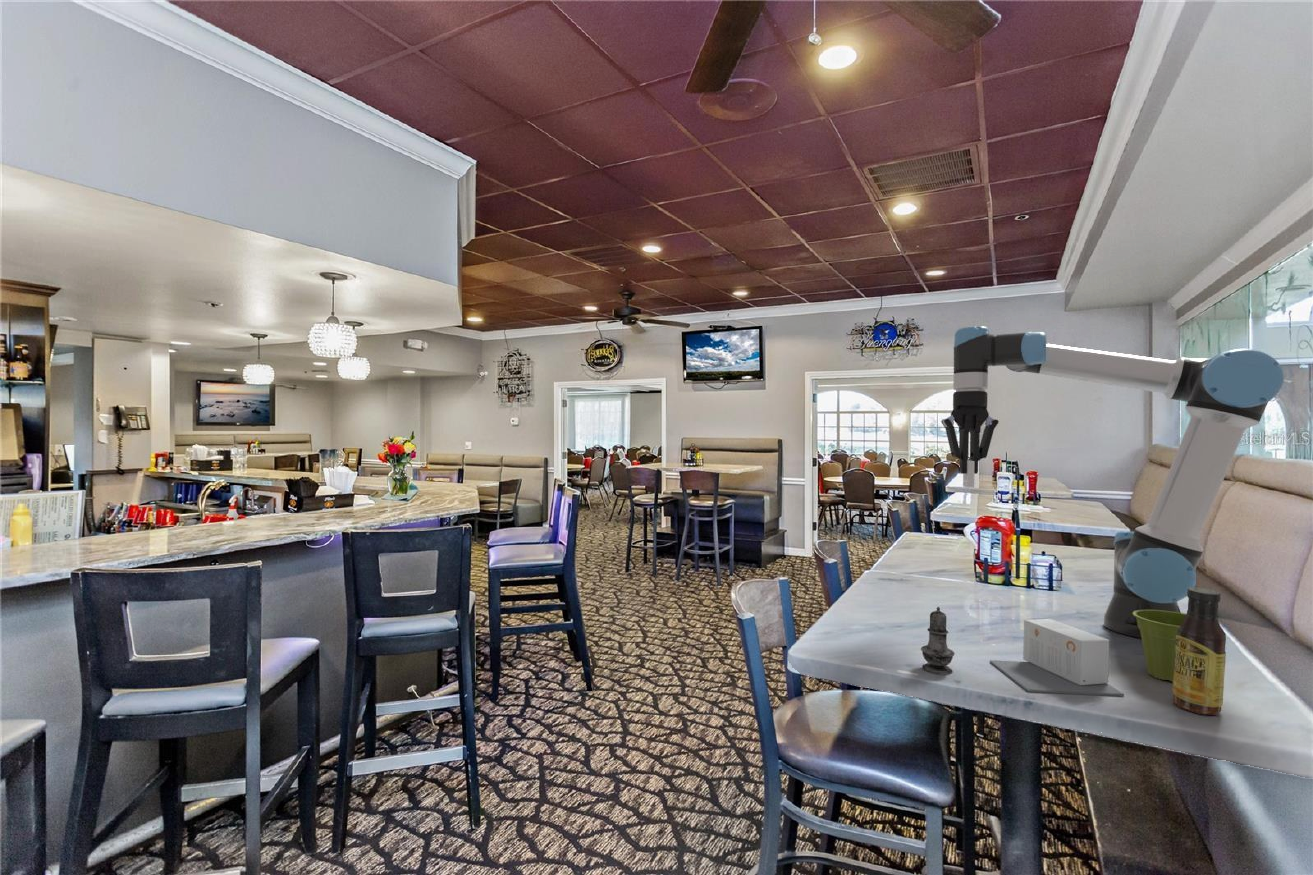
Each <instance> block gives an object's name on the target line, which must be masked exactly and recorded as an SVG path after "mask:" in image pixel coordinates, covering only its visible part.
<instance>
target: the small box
mask: <svg viewBox="0 0 1313 875" xmlns="http://www.w3.org/2000/svg"><path fill="white" fill-rule="evenodd" d="M1022 648H1023V649H1022V650H1023V651H1022V660H1023V661H1025V662H1030V663H1032V664H1034V665H1036V666H1038V667H1041V668H1043V669H1045V670H1047V671H1049V672H1052V673H1054V674H1056V675H1058V676H1060V677H1063V678H1065V679H1067V680H1069V681H1071V682H1073V683H1076V684H1078V685H1091V684H1104V683H1107V684H1109V670H1110V669H1109V667H1110V666H1109V665H1110V664H1109V662H1110V660H1109V659H1110V639H1107V638H1105V637H1102V636H1099V635H1096V634H1093V633H1092V632H1088V631H1086V630H1082V629H1080V628H1078V627H1074V626H1072V625H1069V624H1066V623H1063V622H1061V621H1060V622H1059V621H1057V620H1054V619H1052V618H1045V619H1043V618H1042V619H1038V618H1037V619H1024V620H1023V647H1022Z"/></svg>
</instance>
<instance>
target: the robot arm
mask: <svg viewBox="0 0 1313 875" xmlns="http://www.w3.org/2000/svg"><path fill="white" fill-rule="evenodd" d="M953 342H954V343H953V384H952V385H953V386H952V388H953V390H954V392H953V394H952V397H953V398H952V408H953V409H952V411H951V413H950V415H949V416H948V417H946V418H944V419H941V424H942V425H943V427H944V429H945V433H946V437H947V442H948V446H949V450H950V455H951V457H952V458H956V459H957V460H959V473H960V474H962V487H965V488H972V489H973V488H975V474H977V475H978V472H979V461H981V460H982V459H986V458H987V457H988V453H989V449H990V447H991V446H990V445H991V442H992V439H993V434H994V431H995V428H996V427H997V426H998V424H999V422H1000V421H999V420H998V419H994V418H993V417H991V416H990V415H989V414H990V413H989V411H988V392H987V391H986V390H988V385H989V384H988V383H989V381H988V380H989V379H988V378H989V371H988V370H989V367H996V366H997V367H999V366H1002V367H1003V366H1005V367H1006V368H1007V369H1008V370H1009V371H1013V372H1017V373H1024V372H1025V373H1032V374H1039V375H1040V374H1041V375H1047V376H1052V377H1053V376H1054V377H1059V378H1063V379H1064V378H1066V379H1072V380H1078V381H1083V382H1091V383H1095V384H1101V385H1108V386H1109V385H1110V386H1116V387H1121V388H1128V389H1134V390H1140V391H1145V392H1146V391H1147V392H1154V393H1158V394H1159V393H1160V394H1164V395H1165V397H1166V398H1167V399H1168V400H1169V399H1170V400H1175V401H1181V402H1185V403H1186V405H1185V410H1186V411H1187V414H1189V417H1190V419H1189V422H1188V425H1187V427H1186V429H1185V432H1184V434H1183V436H1182V438H1181V441H1180V444H1179V446H1178V448H1177V451H1176V452H1175V456H1174V458H1173V460H1172V463H1171V465H1170V468H1169V471H1168V472H1167V475H1166V477H1165V479H1164V482H1163V485H1162V486H1161V489H1160V492H1159V495H1158V497H1157V499H1156V502H1154V503H1155V504H1154V506H1153V508H1152V511H1151V513H1150V516H1149V518H1148V520H1147V522H1146V523H1144V525H1141V526H1138V527H1136V528H1135V529H1134V531H1124V530H1122V531H1121V530H1120V531H1118V532H1116V533H1115V535H1114V541H1113V546H1114V559H1113V560H1114V562H1113V563H1114V564H1113V566H1114V567H1113V594H1112V597H1111V599H1110V601H1109V603H1108V606H1107V607H1106V608H1107V609H1106V611H1105V613H1104V616H1103V626H1104V627H1105V628H1107V629H1109V630H1111V631H1113V632H1115V633H1119V634H1122V635H1125V636H1129V637H1133V636H1134V638H1139V639H1142V638H1141V633H1140V629H1139V628H1138V624H1137V619H1136V617H1135V616H1134V615H1133V612H1134V611H1137V610H1163V611H1172V612H1178V613H1182V612H1181V609H1180V607H1179V606H1180V605H1179V604H1178V601H1181V600H1184V598H1188V596H1187V591H1188V588H1191V587H1195V586H1196V583H1197V572H1196V569H1197V567H1198V564H1199V562H1200V560H1201V557H1202V554H1203V553H1204V548H1203V546H1202V545H1201V544H1200V542H1199V537H1200V535H1201V532H1202V530H1203V527H1204V526H1205V523H1206V521H1207V519H1208V517H1209V514H1210V511H1211V510H1212V507H1213V504H1214V502H1215V500H1216V498H1217V496H1218V493H1219V491H1220V489H1221V486H1222V484H1223V482H1224V480H1225V477H1226V475H1227V472H1228V470H1229V468H1230V466H1231V463H1232V460H1233V459H1234V456H1235V454H1236V453H1237V449H1238V447H1239V445H1240V443H1241V440H1242V438H1243V435H1244V433H1245V431H1246V430H1248V428H1252V427H1254V426H1257V425H1259V424H1260V421H1261V419H1262V417H1263V415H1264V412H1265V410H1266V408H1267V405H1268V403H1269V402H1270V401H1271V400H1273V399H1274V398H1275V397H1277V395H1278V394H1279V392H1280V391H1281V389H1282V387H1283V384H1284V381H1285V378H1284V377H1285V376H1284V375H1285V374H1284V370H1283V367H1282V366H1281V365H1280V363H1279V362H1278V361H1277V359H1275V358H1274V357H1272V356H1271V355H1270V354H1268V353H1266V352H1264V351H1261V350H1256V349H1250V348H1237V349H1231V350H1230V349H1229V350H1225V351H1222V352H1220V353H1218V354H1215V355H1214V356H1212V358H1191V357H1186V356H1185V357H1184V356H1182V357H1181V356H1180V357H1179V358H1177V359H1174V360H1170V359H1163V358H1155V357H1148V356H1140V355H1133V354H1125V353H1117V352H1111V351H1110V352H1109V351H1104V350H1103V351H1102V350H1096V349H1095V350H1094V349H1087V348H1080V347H1071V346H1064V345H1057V344H1050V343H1047V334H1046V333H1045V332H1043V331H1034V332H1033V331H1027V332H1016V333H1015V332H1014V333H1004V334H1003V333H1002V334H990V332H989V328H988V327H987V326H965V327H961V328H959V329H957V330H956V331H955V334H954V341H953ZM954 424H956V425H957V427H958V433H959V438H957V434H956V429H955V426H954ZM984 424H985V427H984V428H983V432H982V436H981V438H980V435H981V430H982V429H981V428H982V426H983V425H984ZM958 439H959V442H958ZM980 439H981V440H980ZM968 459H970V460H968Z"/></svg>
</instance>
